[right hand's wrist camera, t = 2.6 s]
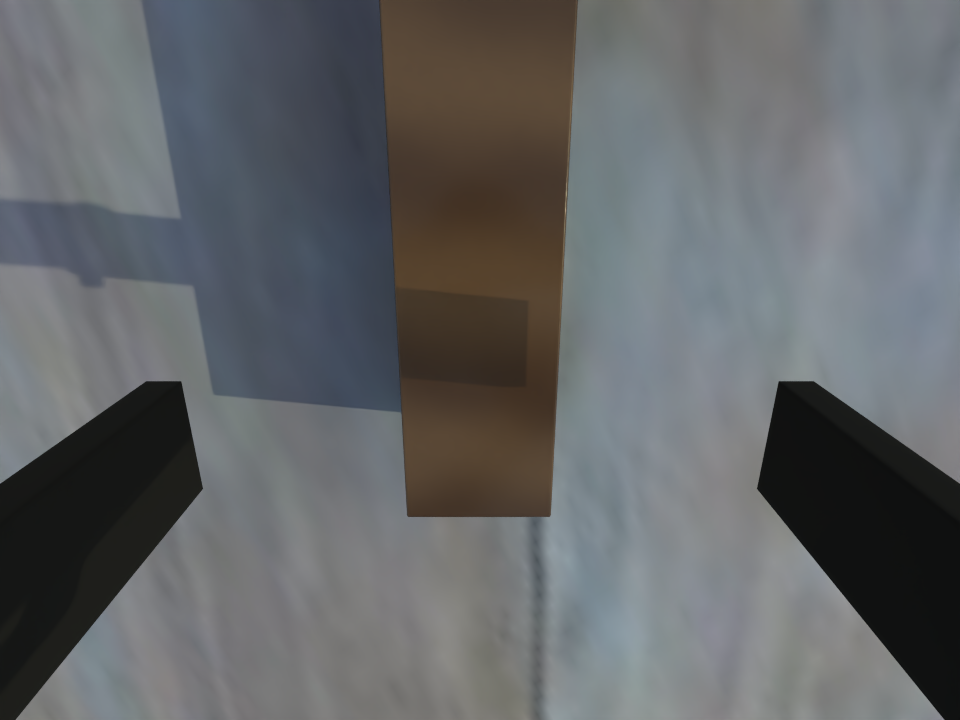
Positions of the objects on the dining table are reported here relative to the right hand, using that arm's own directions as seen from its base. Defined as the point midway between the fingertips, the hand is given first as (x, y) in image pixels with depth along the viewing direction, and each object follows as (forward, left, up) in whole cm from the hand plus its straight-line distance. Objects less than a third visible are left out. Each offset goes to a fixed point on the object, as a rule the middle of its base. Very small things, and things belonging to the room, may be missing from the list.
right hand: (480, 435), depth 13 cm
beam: (+14, +24, -12) cm, 30 cm away
